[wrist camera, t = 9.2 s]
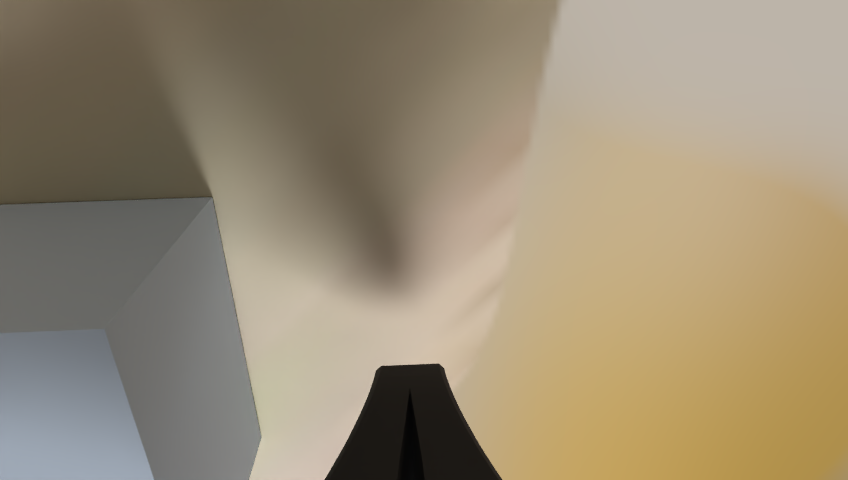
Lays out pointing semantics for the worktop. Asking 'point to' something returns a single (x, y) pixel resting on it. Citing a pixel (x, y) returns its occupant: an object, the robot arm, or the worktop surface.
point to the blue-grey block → (120, 345)
